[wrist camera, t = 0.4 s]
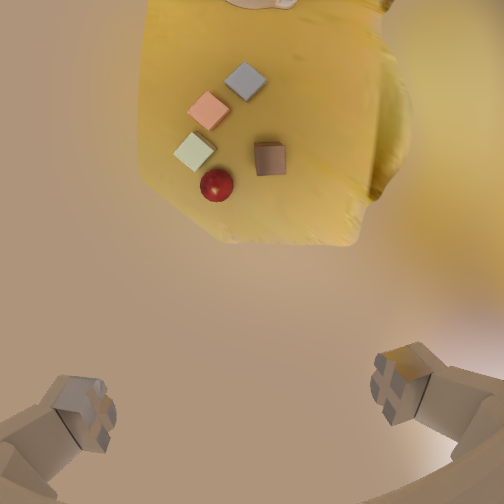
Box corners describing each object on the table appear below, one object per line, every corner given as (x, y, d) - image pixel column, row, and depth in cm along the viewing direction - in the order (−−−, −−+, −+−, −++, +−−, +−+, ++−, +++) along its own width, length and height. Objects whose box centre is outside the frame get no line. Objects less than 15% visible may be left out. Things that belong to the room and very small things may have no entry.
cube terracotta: (210, 93, 46) (206, 90, 41) (230, 110, 47) (229, 108, 43) (192, 113, 47) (186, 112, 43) (212, 130, 49) (208, 130, 44)
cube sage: (197, 131, 49) (191, 132, 44) (217, 148, 50) (213, 150, 46) (179, 151, 50) (173, 154, 46) (199, 167, 52) (194, 172, 47)
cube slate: (245, 66, 44) (244, 61, 39) (265, 84, 45) (267, 79, 41) (226, 85, 45) (223, 81, 41) (246, 102, 47) (246, 100, 42)
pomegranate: (200, 192, 54) (192, 203, 47) (207, 163, 52) (200, 170, 44) (230, 199, 55) (226, 211, 47) (237, 170, 52) (235, 178, 45)
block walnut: (278, 141, 50) (285, 145, 41) (279, 165, 52) (286, 174, 43) (254, 142, 50) (255, 147, 41) (255, 166, 52) (257, 175, 43)
